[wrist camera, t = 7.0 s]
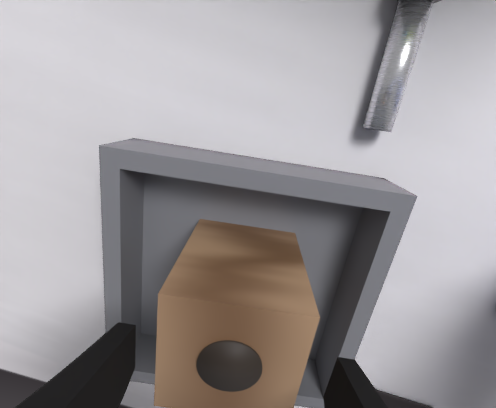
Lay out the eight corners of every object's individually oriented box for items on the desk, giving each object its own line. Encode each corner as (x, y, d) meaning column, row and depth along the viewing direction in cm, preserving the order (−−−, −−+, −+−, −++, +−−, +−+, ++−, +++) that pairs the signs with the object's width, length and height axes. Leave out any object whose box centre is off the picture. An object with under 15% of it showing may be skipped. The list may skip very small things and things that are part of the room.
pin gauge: (413, -96, 10) (445, -139, 8) (460, -88, 10) (502, -129, 8) (352, 125, 12) (367, 128, 11) (390, 132, 12) (410, 135, 11)
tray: (383, 178, 13) (417, 196, 10) (322, 362, 17) (334, 411, 15) (133, 138, 13) (99, 145, 10) (132, 333, 17) (107, 377, 14)
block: (295, 233, 14) (321, 319, 8) (277, 309, 15) (289, 427, 10) (200, 218, 14) (156, 296, 8) (193, 297, 15) (152, 408, 10)
